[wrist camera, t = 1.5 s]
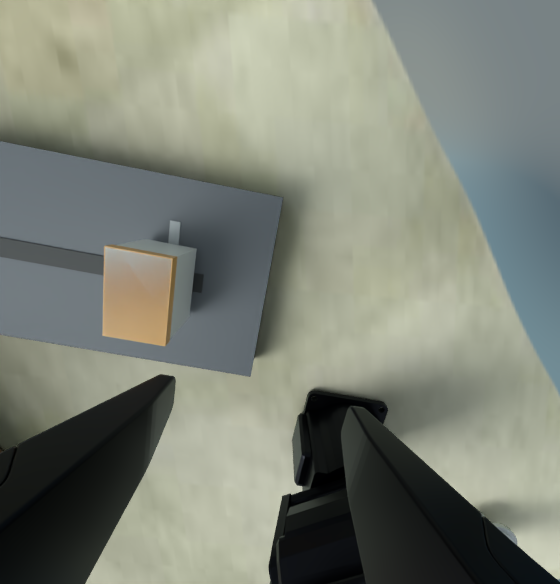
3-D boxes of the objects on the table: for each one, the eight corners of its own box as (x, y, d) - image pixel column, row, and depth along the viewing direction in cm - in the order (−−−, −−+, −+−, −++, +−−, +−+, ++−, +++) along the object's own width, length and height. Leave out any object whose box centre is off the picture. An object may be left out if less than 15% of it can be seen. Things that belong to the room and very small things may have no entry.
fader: (197, 247, 17) (172, 258, 13) (190, 317, 18) (165, 346, 14) (145, 237, 17) (104, 245, 13) (141, 309, 18) (102, 335, 14)
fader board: (282, 199, 19) (283, 197, 16) (253, 358, 22) (250, 377, 19) (-62, 130, 18) (-118, 117, 15) (-39, 308, 21) (-83, 321, 18)
